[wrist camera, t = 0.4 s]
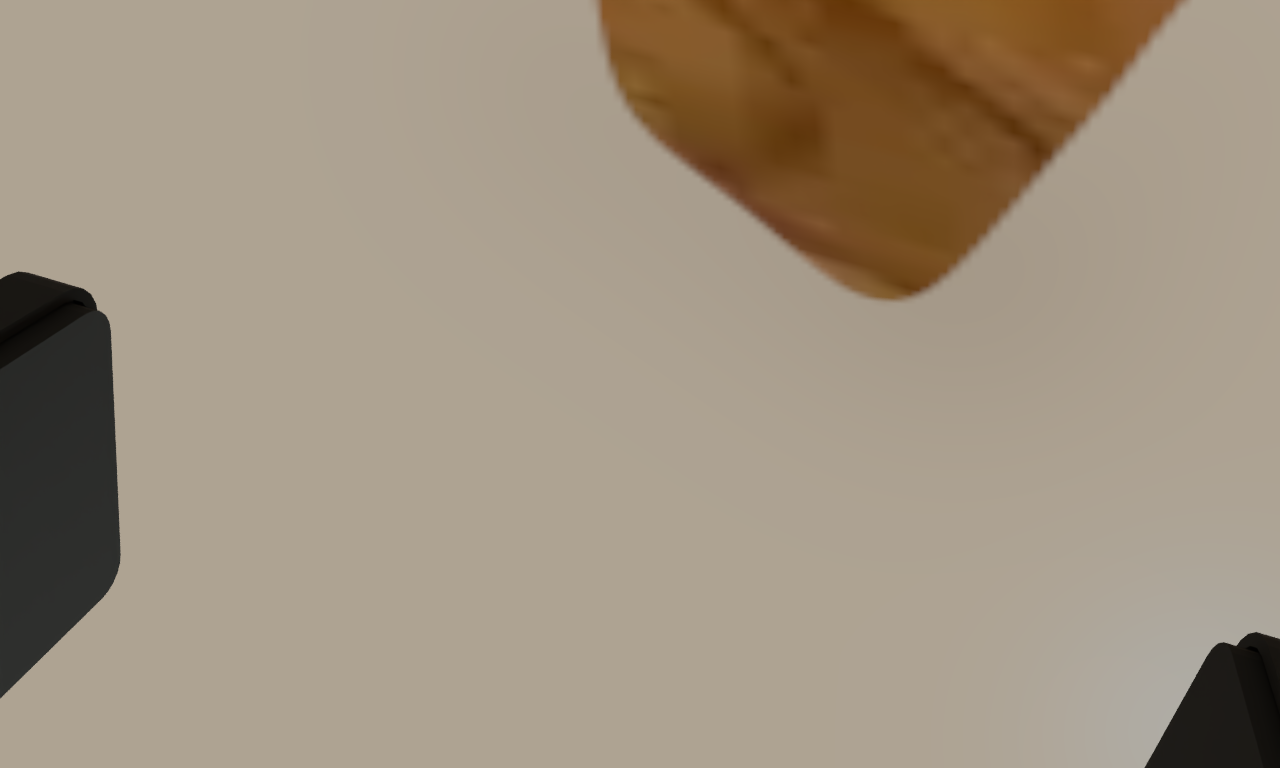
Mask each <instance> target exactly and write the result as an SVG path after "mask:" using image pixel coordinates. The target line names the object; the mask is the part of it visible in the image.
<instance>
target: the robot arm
mask: <svg viewBox="0 0 1280 768" xmlns="http://www.w3.org/2000/svg"><path fill="white" fill-rule="evenodd" d="M112 372H113V371H112V350H111V330H110V324H109V321H108V319H107V317H106V315H105V314H103V313H102V312H100V311H97V307H96V303H95V301H94V299H93V297H92V295H91V294H90V293H88V292H87V291H86V290H84V289H82V288H79V287H75V286H72V285H68V284H65V283H61V282H58V281H55V280H51V279H48V278H45V277H41V276H37V275H34V274H30V273H26V272H16V273H13V274H10V275H7V276H5V277H3V278H2V279H0V698H1V697H2V696H3V695H4V694H5V693H6V692H7V691H8V690H9V689H10V688H11V687H12V686H13V685H14V684H15V683H16V682H17V681H18V680H19V679H21V678H22V676H24V675H25V673H27V672H28V671H29V670H30V669H31V668H32V667H33V666H34V665H35V664H36V663H37V662H38V661H39V660H40V659H41V658H42V657H43V656H44V655H45V654H46V653H47V652H48V651H49V650H50V649H51V648H52V647H53V646H54V645H55V644H56V643H57V642H58V641H59V640H60V639H61V638H62V637H63V636H64V635H65V634H66V633H67V632H68V631H69V630H70V629H71V628H73V627H74V626H75V625H76V624H77V622H79V621H80V620H81V619H82V618H83V617H84V616H85V615H86V614H87V613H88V612H89V611H90V610H91V609H92V608H93V607H94V606H95V605H96V604H97V603H98V602H99V601H100V600H101V599H102V598H103V597H104V595H105V594H106V593H107V592H108V590H109V589H110V587H111V585H112V584H113V582H114V579H115V577H116V575H117V572H118V568H119V564H120V533H119V509H118V486H117V463H116V442H115V418H114V394H113V373H112ZM1145 768H1280V639H1278V638H1274V637H1271V636H1268V635H1264V634H1261V633H1257V632H1255V633H1250V634H1248V635H1247V636H1245V637H1244V638H1243V639H1242V640H1240V642H1239V643H1238V645H1237V646H1234V645H1231V644H1228V643H1224V642H1223V643H1218V644H1217V645H1216V646H1215V647H1214V648H1213V649H1212V650H1211V651H1210V653H1209V654H1208V656H1207V657H1206V659H1205V661H1204V663H1203V664H1202V666H1201V668H1200V670H1199V672H1198V673H1197V675H1196V677H1195V679H1194V681H1193V682H1192V684H1191V686H1190V688H1189V689H1188V691H1187V693H1186V695H1185V697H1184V698H1183V700H1182V702H1181V704H1180V706H1179V708H1178V709H1177V711H1176V713H1175V715H1174V716H1173V718H1172V720H1171V722H1170V724H1169V725H1168V727H1167V729H1166V731H1165V732H1164V734H1163V736H1162V738H1161V740H1160V742H1159V743H1158V745H1157V747H1156V749H1155V751H1154V752H1153V754H1152V756H1151V758H1150V759H1149V761H1148V763H1147V765H1146V766H1145Z"/></svg>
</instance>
